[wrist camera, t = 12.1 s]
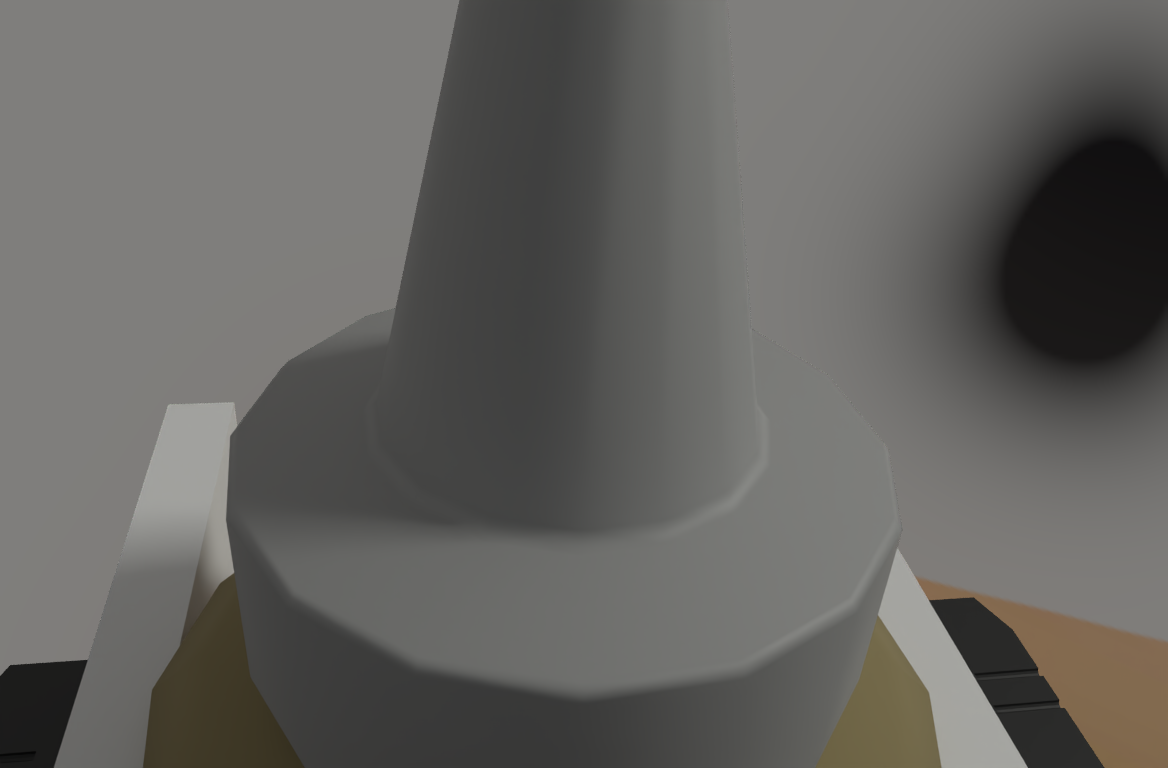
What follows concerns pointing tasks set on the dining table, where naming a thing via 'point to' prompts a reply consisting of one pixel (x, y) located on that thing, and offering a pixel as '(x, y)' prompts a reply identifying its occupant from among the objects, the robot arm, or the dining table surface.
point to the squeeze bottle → (558, 461)
